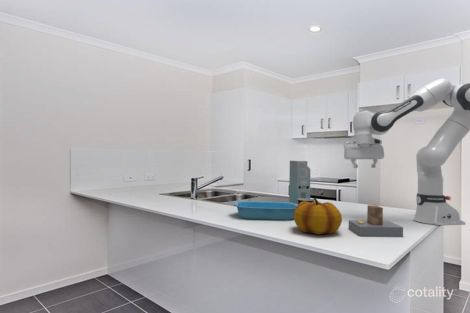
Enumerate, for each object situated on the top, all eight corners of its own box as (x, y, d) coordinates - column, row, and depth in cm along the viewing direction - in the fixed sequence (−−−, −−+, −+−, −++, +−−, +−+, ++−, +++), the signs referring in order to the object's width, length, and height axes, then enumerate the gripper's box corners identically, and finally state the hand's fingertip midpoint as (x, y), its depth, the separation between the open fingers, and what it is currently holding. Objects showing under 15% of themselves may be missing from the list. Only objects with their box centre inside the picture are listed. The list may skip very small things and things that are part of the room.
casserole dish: (297, 213, 179) (297, 201, 179) (304, 222, 156) (304, 208, 156) (233, 212, 180) (233, 200, 180) (231, 220, 157) (232, 206, 157)
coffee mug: (310, 220, 159) (311, 201, 158) (294, 218, 163) (295, 199, 163) (317, 216, 168) (318, 198, 168) (302, 215, 173) (302, 197, 173)
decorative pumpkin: (294, 236, 128) (294, 200, 127) (293, 224, 149) (293, 193, 149) (345, 239, 124) (345, 202, 124) (336, 226, 146) (337, 195, 146)
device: (309, 213, 178) (310, 161, 178) (296, 213, 177) (297, 161, 177) (300, 208, 194) (301, 160, 194) (288, 208, 194) (289, 160, 193)
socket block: (387, 229, 142) (387, 219, 142) (402, 236, 129) (403, 225, 129) (348, 228, 142) (348, 218, 142) (359, 236, 129) (359, 225, 129)
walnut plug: (376, 229, 139) (376, 205, 138) (382, 233, 133) (382, 207, 132) (367, 229, 139) (367, 205, 138) (373, 233, 133) (373, 207, 132)
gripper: (346, 140, 159) (347, 167, 158) (384, 140, 160) (386, 167, 158) (341, 142, 165) (342, 168, 164) (378, 142, 166) (380, 168, 165)
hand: (364, 167), depth 161 cm, fingers open, 8 cm apart
